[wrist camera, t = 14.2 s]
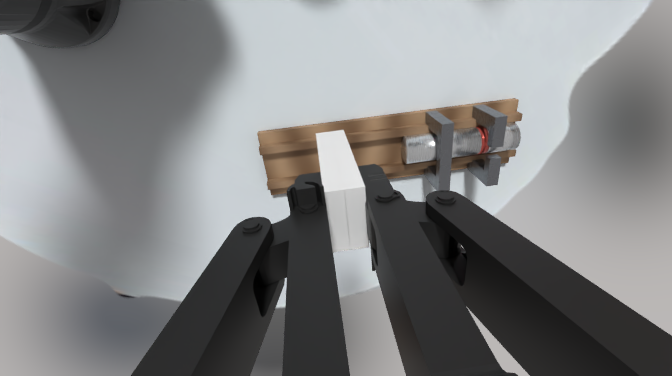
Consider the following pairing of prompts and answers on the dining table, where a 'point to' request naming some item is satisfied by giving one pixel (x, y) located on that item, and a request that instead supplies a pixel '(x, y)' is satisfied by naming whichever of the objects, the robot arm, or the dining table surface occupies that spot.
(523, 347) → the robot arm
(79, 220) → the dining table surface
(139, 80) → the dining table surface
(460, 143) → the tube
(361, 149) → the cradle
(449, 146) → the collars
